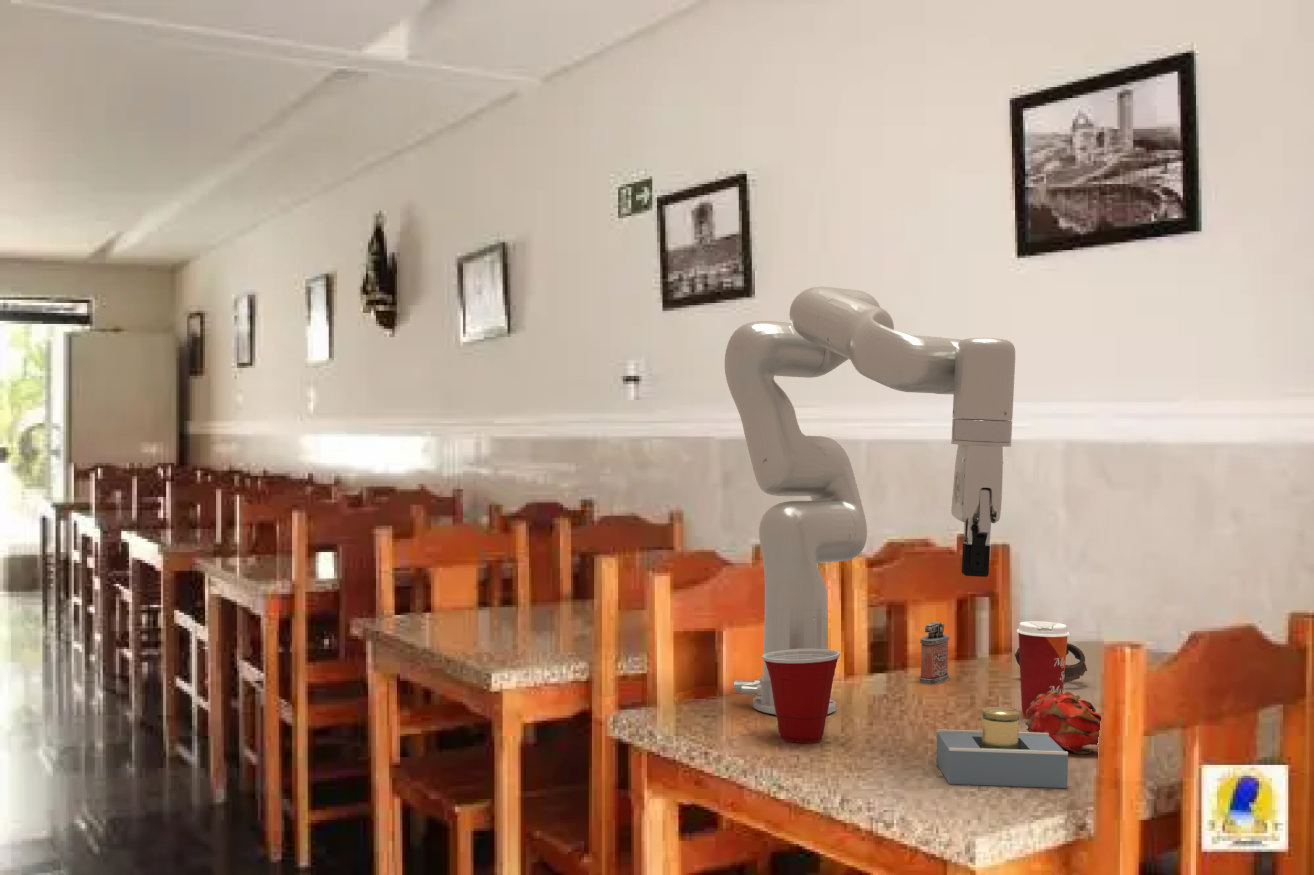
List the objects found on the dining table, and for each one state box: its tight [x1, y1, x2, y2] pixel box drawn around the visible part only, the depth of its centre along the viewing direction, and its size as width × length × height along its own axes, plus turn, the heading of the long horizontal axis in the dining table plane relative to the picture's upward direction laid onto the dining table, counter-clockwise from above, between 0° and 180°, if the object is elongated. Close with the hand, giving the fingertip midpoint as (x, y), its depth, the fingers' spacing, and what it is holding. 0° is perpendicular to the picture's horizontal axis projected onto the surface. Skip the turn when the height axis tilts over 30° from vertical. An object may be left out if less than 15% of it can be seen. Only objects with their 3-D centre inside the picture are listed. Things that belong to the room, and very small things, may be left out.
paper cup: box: [1016, 620, 1071, 720], centre depth 193 cm, size 8×8×14 cm
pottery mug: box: [1014, 642, 1088, 683], centre depth 220 cm, size 12×10×8 cm
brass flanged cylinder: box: [981, 706, 1020, 749], centre depth 159 cm, size 4×4×8 cm
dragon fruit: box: [1024, 690, 1102, 755], centre depth 173 cm, size 8×8×12 cm
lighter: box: [919, 621, 950, 685], centre depth 220 cm, size 8×3×10 cm, turn 144°
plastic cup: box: [761, 648, 841, 744], centre depth 176 cm, size 11×11×12 cm
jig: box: [935, 728, 1069, 789], centre depth 159 cm, size 14×10×4 cm
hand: (974, 575), depth 166 cm, fingers closed
